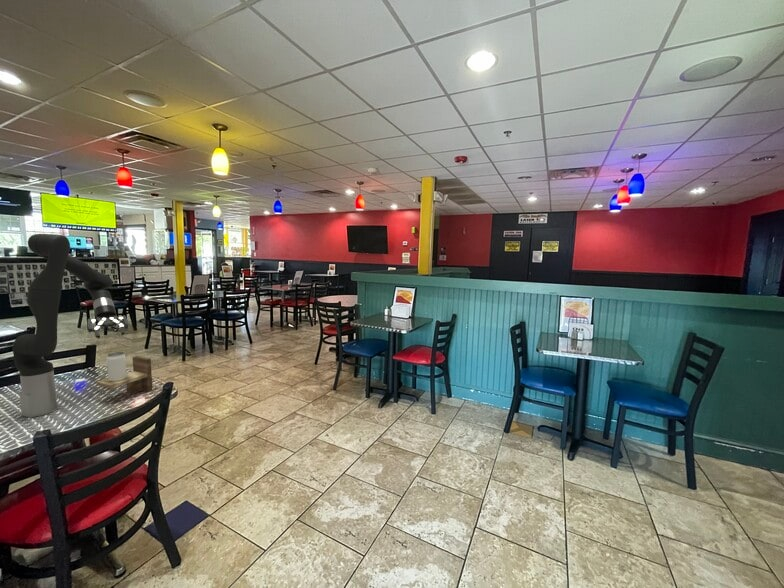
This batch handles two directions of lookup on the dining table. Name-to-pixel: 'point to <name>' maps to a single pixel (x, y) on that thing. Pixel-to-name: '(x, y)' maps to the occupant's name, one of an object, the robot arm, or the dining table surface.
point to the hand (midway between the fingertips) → (111, 336)
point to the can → (116, 366)
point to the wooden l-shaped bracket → (134, 377)
